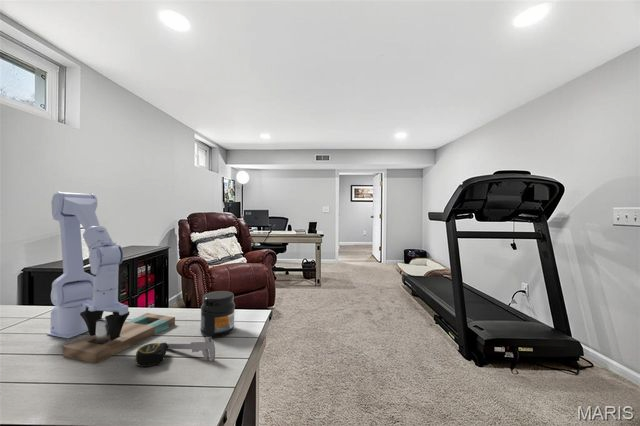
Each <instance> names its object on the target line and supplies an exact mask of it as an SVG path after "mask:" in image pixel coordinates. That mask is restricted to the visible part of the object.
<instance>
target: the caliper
mask: <svg viewBox="0 0 640 426" xmlns="http://www.w3.org/2000/svg"><path fill="white" fill-rule="evenodd" d="M212 338H213V337H208V336H205V337H204V340H192V341H187V342H186V341H183V342H182V341H180V342H179V341H175V342H174V341H172V342H171V341H170V342H169V341H167V342H166V341H164V342H163V341H161V342H158V343H159V344H160V343H167V346H168V345H169V346H168V347H169V348H168V349H167V350H191V353H198V352H201V353H202V356H203V358H204V360H205V361H209V360H210V363H211V362H214V361H215V360H216V346H215V341H214V340H213V339H212Z"/></svg>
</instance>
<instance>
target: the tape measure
mask: <svg viewBox="0 0 640 426" xmlns="http://www.w3.org/2000/svg"><path fill="white" fill-rule="evenodd" d="M159 343H160V344H159ZM168 346H169V345H168ZM168 346H167V343H161V342H153V343H151V342H150V343H147V344H144V345H142V346H140V347H139V348H138V349H137V351H136V354H135V362H136V365H138V366H140V367H150V366H154V365H159V364H161V363H163V362H164V359H165V356H166V353H167V351H168V350H169V349H168V348H169V347H168Z"/></svg>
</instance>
